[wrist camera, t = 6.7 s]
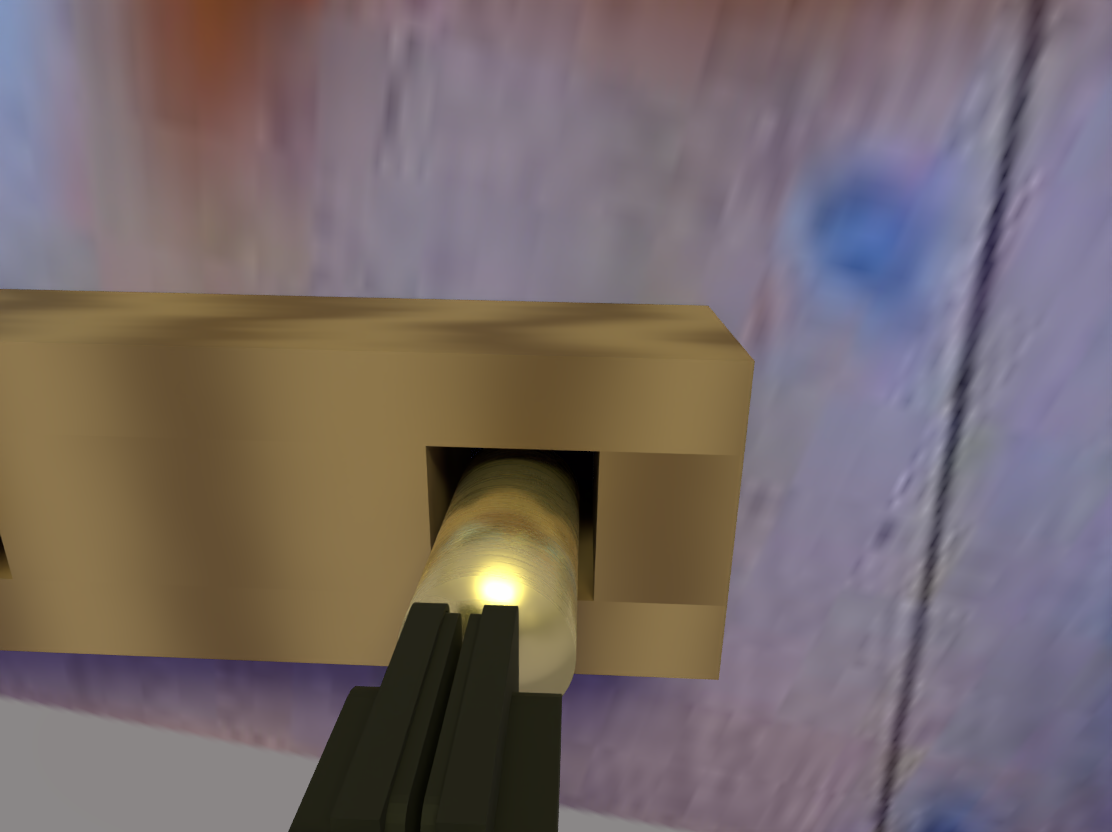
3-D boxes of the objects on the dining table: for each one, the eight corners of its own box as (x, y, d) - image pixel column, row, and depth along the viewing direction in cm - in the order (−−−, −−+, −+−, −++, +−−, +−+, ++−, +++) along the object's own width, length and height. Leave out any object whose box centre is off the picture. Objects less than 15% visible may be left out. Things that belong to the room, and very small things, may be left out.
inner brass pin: (581, 442, 17) (578, 581, 11) (578, 552, 18) (573, 730, 12) (456, 438, 17) (391, 575, 11) (459, 548, 18) (402, 722, 12)
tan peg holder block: (707, 306, 20) (754, 361, 15) (686, 552, 23) (718, 679, 17) (-109, 286, 21) (-364, 331, 15) (-38, 526, 24) (-232, 640, 18)
